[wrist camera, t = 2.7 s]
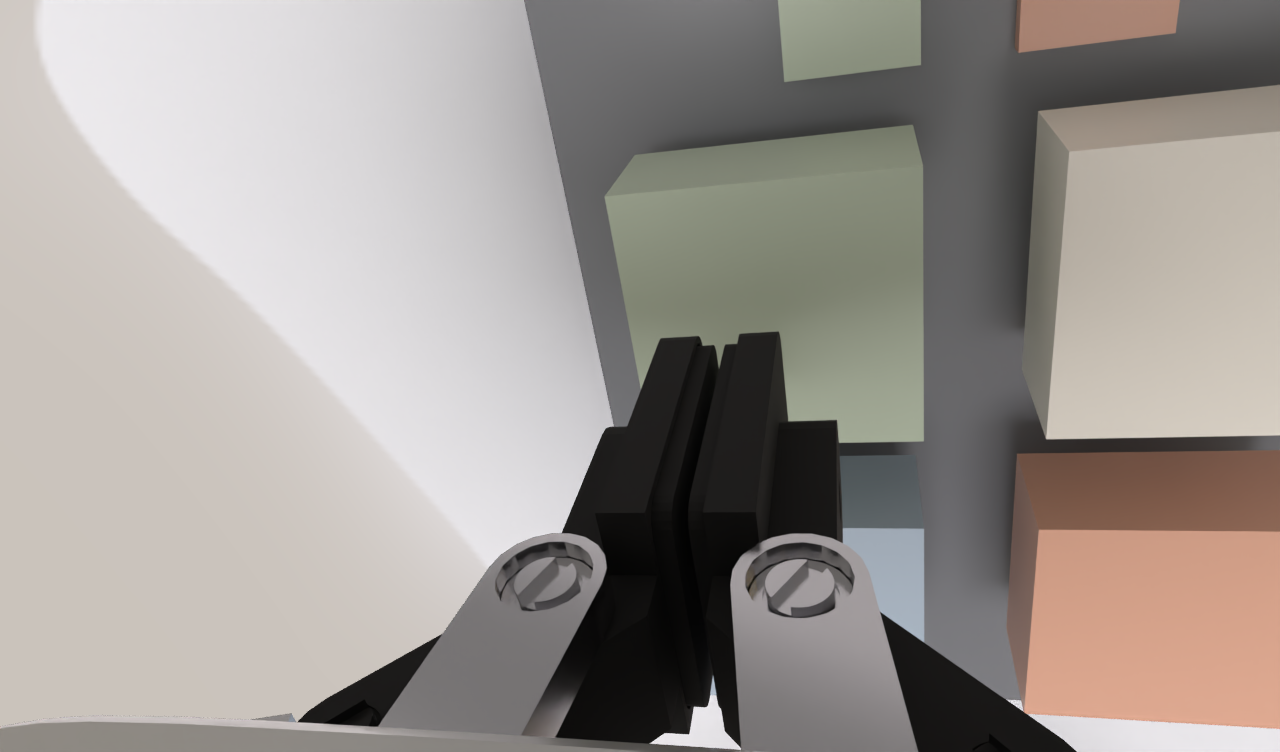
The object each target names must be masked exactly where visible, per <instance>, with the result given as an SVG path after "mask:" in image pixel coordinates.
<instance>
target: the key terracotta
mask: <svg viewBox="0 0 1280 752" xmlns="http://www.w3.org/2000/svg"><path fill="white" fill-rule="evenodd" d="M1006 629H1007V634H1008V639H1009V644H1010V648H1011V653H1012V658H1013V663H1014V668H1015V672H1016V677H1017V682H1018V687H1019V692H1020V697H1021V701H1022V706H1023V711H1024V713H1026V714H1041V715H1058V716H1074V717H1091V718H1108V719H1125V720H1142V721H1158V722H1175V723H1192V724H1209V725H1225V726H1242V727H1259V728H1276V729H1280V450H1254V451H1178V452H1102V453H1026V454H1017V461H1016V478H1015V494H1014V510H1013V527H1012V543H1011V559H1010V575H1009V592H1008V608H1007V624H1006Z"/></svg>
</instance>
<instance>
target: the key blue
mask: <svg viewBox="0 0 1280 752" xmlns="http://www.w3.org/2000/svg"><path fill="white" fill-rule="evenodd" d="M840 471H841V491H842V518H843V544H845V545H847V546H849V547H850V548H851V549H852V550H854V551H855V552H856V553H857V554H858V555H859V556H860V557H861V558H862V559H863V561H864V563H865V565H866V567H867V569H868V571H869V574H870V577H871V581H872V585H873V588H874V592H875V596H876V599H877V603H878V607H879V610H880V612H881V613H883V614H884V615H885V616H887V617H888V618H890V619H891V620H893V621H894V622H895V623H897V624H898V625H900V626H901V627H903V628H904V629H906V630H907V631H908V632H910V633H911V634H913V635H914V636H916V637H917V638H918V639H920V640H921V641H923V642H924V524H923V516H922V507H921V498H920V490H919V481H918V472H917V463H916V455H874V456H840ZM710 695H716V689H715V683H714V677H713V679H712V685H711V692H710Z"/></svg>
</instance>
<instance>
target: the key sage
mask: <svg viewBox="0 0 1280 752" xmlns="http://www.w3.org/2000/svg"><path fill="white" fill-rule="evenodd" d="M604 197H605V202H606V207H607V212H608V218H609V223H610V228H611V234H612V239H613V244H614V250H615V255H616V260H617V265H618V271H619V276H620V281H621V287H622V292H623V297H624V303H625V308H626V313H627V319H628V324H629V329H630V334H631V340H632V345H633V350H634V356H635V361H636V366H637V372H638V377H639V382H640V388H642V385H643V383H644V380H645V377H646V375H647V372H648V369H649V367H650V364H651V361H652V358H653V356H654V353H655V350H656V348H657V345H658V342H659V340H660V339H661V338H672V337H690V336H699V337H700V338H701V341H702V345H703V346H706V345H714V346H715V348H716V353H717V359H718V366H719V367H720V363H721V359H722V354H723V350H724V346H725V344H737V342H738V337H739V334H743V333H760V332H778V331H779V334H780V339H781V347H782V358H783V369H784V380H785V390H786V401H787V412H788V421H817V420H837V424H838V438H839V443H860V442H919V441H924V325H923V163H922V159H921V155H920V151H919V147H918V143H917V139H916V135H915V131H914V127H913V125H905V126H896V127H887V128H877V129H868V130H859V131H850V132H841V133H831V134H822V135H813V136H804V137H795V138H785V139H776V140H767V141H758V142H748V143H739V144H730V145H721V146H712V147H702V148H693V149H684V150H675V151H666V152H656V153H647V154H638V155H634V157H633V158H632V160H631V161H630V162H629V164H628V165H627V166H626V168H625V169H624V170H623V172H622V173H621V175H620V176H619V177H618V179H617V180H616V181H615V183H614V184H613V186H612V187H611V188H610V190H609V191H608V192H607V194H606V195H605V196H604Z"/></svg>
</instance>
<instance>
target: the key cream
mask: <svg viewBox="0 0 1280 752" xmlns="http://www.w3.org/2000/svg"><path fill="white" fill-rule="evenodd" d="M1022 371H1023V374H1024V377H1025V380H1026V382H1027V385H1028V388H1029V391H1030V394H1031V397H1032V400H1033V403H1034V406H1035V409H1036V411H1037V414H1038V417H1039V420H1040V423H1041V426H1042V429H1043V432H1044V435H1045V437H1046V439H1096V438H1155V437H1213V436H1272V435H1280V85H1273V86H1264V87H1255V88H1246V89H1236V90H1227V91H1218V92H1209V93H1200V94H1190V95H1181V96H1172V97H1163V98H1154V99H1144V100H1135V101H1126V102H1117V103H1108V104H1098V105H1089V106H1080V107H1071V108H1062V109H1052V110H1043V111H1038V120H1037V136H1036V152H1035V168H1034V185H1033V201H1032V217H1031V234H1030V250H1029V266H1028V282H1027V299H1026V315H1025V331H1024V347H1023V364H1022Z"/></svg>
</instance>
